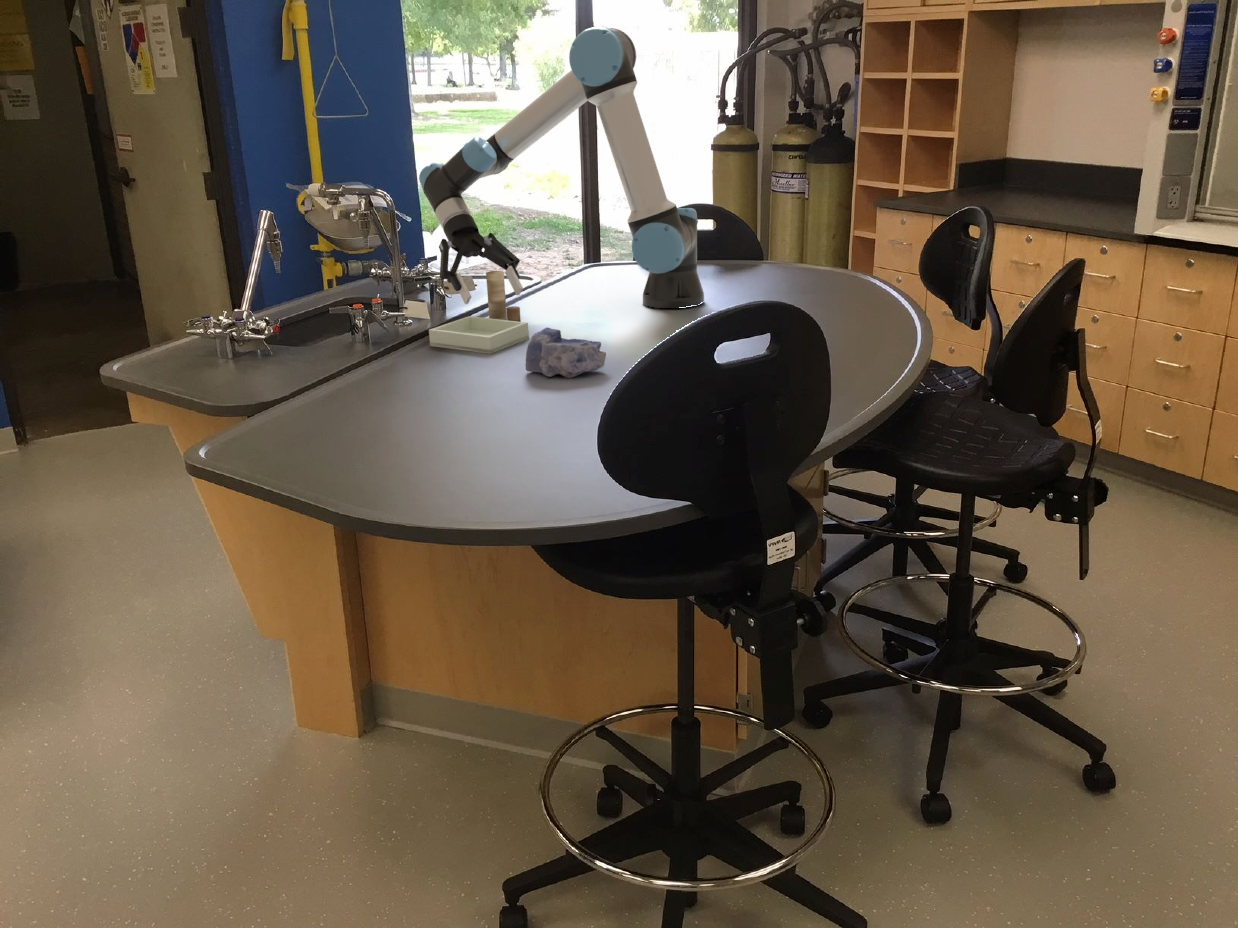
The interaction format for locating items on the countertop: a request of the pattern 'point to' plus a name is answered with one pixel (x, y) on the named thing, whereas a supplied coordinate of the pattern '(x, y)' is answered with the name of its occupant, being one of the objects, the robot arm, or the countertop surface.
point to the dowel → (496, 295)
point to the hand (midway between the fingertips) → (494, 296)
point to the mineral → (562, 354)
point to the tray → (479, 334)
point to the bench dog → (513, 313)
